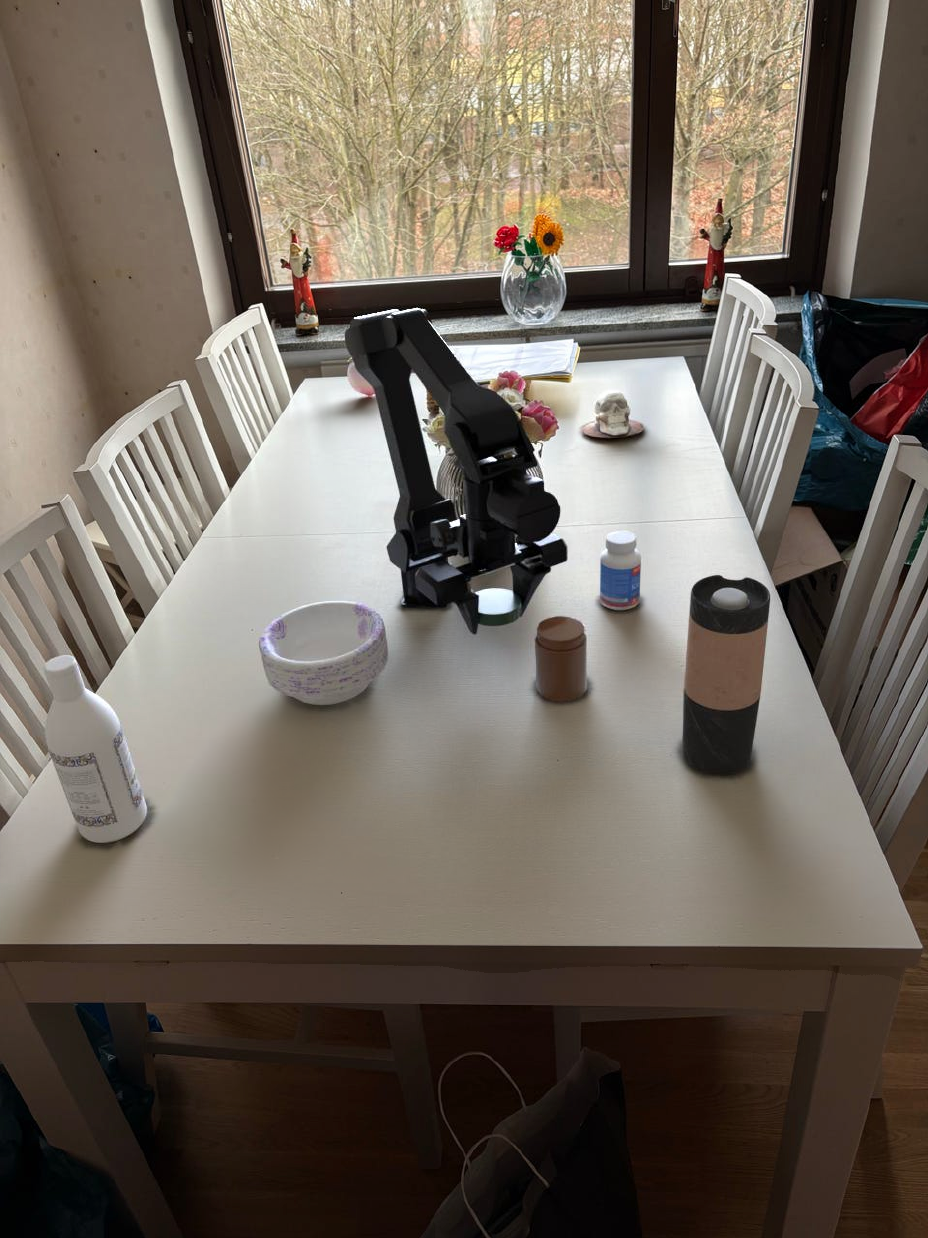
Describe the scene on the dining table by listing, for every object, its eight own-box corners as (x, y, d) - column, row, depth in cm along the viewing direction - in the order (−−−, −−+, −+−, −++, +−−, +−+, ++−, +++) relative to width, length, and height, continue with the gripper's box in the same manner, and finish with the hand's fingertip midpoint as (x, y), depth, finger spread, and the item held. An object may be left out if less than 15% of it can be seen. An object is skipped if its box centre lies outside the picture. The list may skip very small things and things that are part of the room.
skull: (654, 433, 181) (619, 397, 177) (613, 470, 185) (578, 435, 181) (643, 410, 191) (609, 376, 187) (605, 445, 195) (570, 412, 191)
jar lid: (530, 605, 120) (530, 594, 119) (507, 631, 115) (506, 619, 114) (482, 595, 123) (482, 584, 122) (457, 619, 118) (456, 607, 117)
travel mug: (711, 787, 98) (726, 620, 88) (665, 747, 104) (673, 587, 94) (768, 761, 101) (789, 597, 91) (720, 724, 107) (734, 566, 96)
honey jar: (545, 706, 112) (543, 645, 108) (530, 678, 117) (528, 619, 113) (593, 696, 113) (594, 636, 109) (577, 669, 118) (576, 610, 114)
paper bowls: (257, 670, 123) (245, 617, 118) (369, 639, 127) (362, 587, 123) (286, 735, 110) (274, 679, 106) (409, 698, 115) (402, 643, 111)
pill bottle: (638, 612, 128) (640, 547, 123) (598, 610, 129) (598, 546, 124) (640, 592, 133) (642, 528, 128) (601, 590, 134) (602, 527, 129)
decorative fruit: (344, 402, 213) (338, 358, 208) (354, 391, 220) (349, 347, 215) (385, 402, 212) (380, 357, 206) (394, 390, 218) (389, 347, 213)
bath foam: (124, 790, 104) (73, 635, 94) (161, 816, 100) (112, 657, 90) (67, 826, 100) (6, 668, 89) (103, 855, 96) (43, 693, 85)
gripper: (517, 470, 122) (521, 577, 130) (387, 509, 114) (400, 621, 122) (569, 498, 113) (570, 610, 121) (433, 542, 106) (444, 660, 114)
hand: (496, 624), depth 120 cm, fingers closed on jar lid, 6 cm apart
